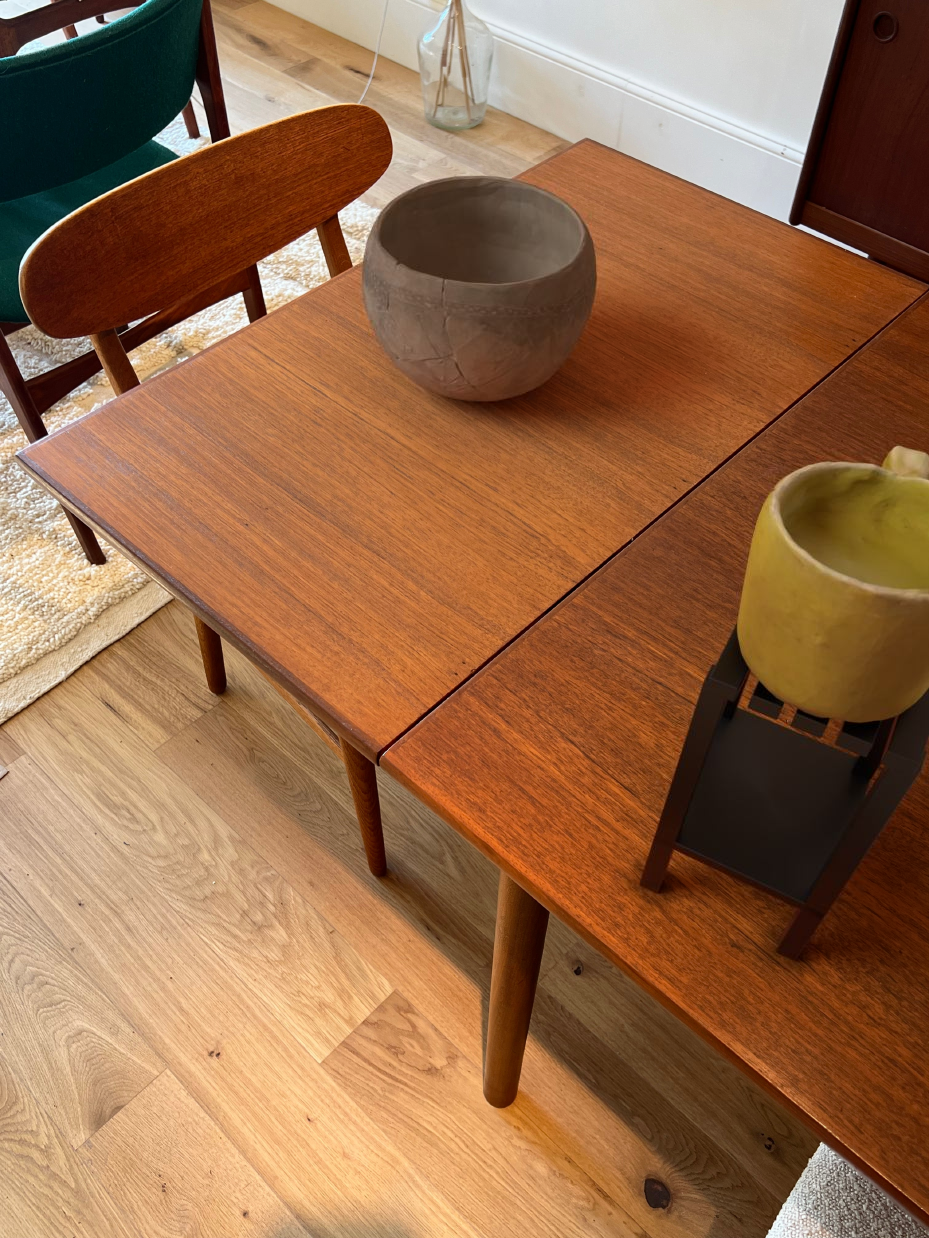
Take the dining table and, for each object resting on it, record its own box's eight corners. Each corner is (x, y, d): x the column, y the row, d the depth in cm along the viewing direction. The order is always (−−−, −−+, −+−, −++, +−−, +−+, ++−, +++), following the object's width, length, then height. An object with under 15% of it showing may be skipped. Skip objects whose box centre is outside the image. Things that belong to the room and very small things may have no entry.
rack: (844, 817, 64) (974, 598, 48) (794, 963, 58) (925, 766, 42) (700, 754, 67) (778, 529, 51) (637, 886, 61) (704, 675, 45)
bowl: (591, 442, 89) (612, 289, 77) (359, 437, 89) (346, 284, 78) (578, 313, 103) (594, 167, 91) (377, 308, 103) (368, 163, 91)
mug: (920, 788, 39) (956, 558, 34) (691, 706, 45) (695, 502, 41) (1022, 655, 47) (1063, 451, 42) (813, 600, 53) (828, 418, 48)
